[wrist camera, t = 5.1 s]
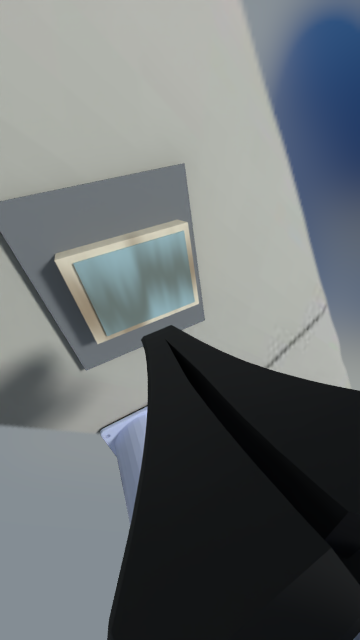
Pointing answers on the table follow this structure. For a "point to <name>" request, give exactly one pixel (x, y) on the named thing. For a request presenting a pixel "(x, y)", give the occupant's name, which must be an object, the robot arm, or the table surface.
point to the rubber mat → (89, 227)
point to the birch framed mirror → (131, 278)
